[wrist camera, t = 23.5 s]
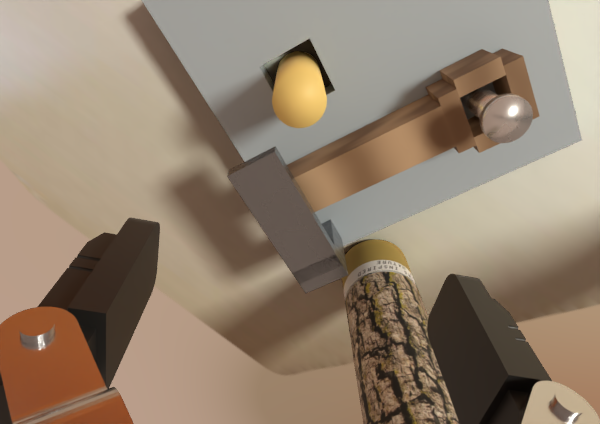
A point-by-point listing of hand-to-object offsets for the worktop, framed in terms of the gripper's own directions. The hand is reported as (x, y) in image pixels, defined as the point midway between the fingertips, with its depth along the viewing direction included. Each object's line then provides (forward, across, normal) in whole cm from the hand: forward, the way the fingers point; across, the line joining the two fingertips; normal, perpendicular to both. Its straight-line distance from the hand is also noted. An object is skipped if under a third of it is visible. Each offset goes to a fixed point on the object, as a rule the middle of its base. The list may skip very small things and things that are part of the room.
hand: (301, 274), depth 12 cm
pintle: (+28, -14, -2) cm, 31 cm away
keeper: (+28, -2, +10) cm, 30 cm away
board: (+28, -6, -2) cm, 29 cm away
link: (+25, -8, +3) cm, 27 cm away
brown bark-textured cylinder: (+28, -12, +17) cm, 35 cm away
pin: (+28, 0, 0) cm, 28 cm away
